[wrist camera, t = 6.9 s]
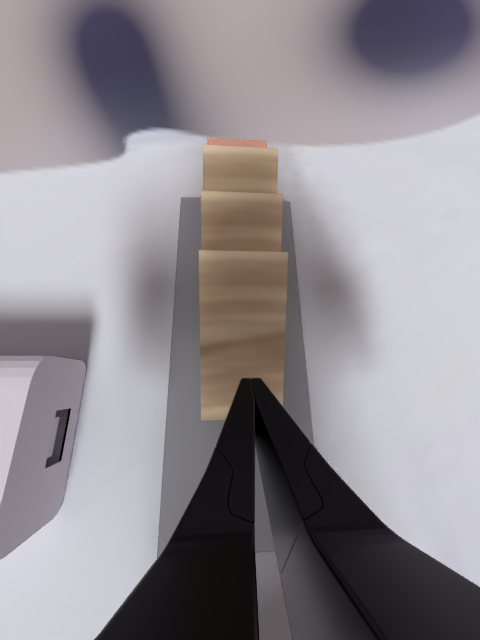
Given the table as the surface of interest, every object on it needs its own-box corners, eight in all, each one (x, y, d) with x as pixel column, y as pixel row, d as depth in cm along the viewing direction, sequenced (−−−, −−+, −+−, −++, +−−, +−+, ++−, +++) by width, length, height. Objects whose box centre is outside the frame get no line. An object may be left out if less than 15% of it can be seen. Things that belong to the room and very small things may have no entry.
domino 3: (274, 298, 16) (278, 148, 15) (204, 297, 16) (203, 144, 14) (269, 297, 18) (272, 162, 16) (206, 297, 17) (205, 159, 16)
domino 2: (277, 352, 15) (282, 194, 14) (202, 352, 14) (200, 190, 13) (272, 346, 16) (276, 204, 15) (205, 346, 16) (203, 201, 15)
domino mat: (319, 540, 14) (323, 547, 13) (159, 552, 13) (156, 559, 13) (288, 206, 21) (289, 201, 21) (182, 202, 20) (181, 197, 20)
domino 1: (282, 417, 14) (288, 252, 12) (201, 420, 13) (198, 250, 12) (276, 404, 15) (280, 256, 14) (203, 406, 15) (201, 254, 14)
